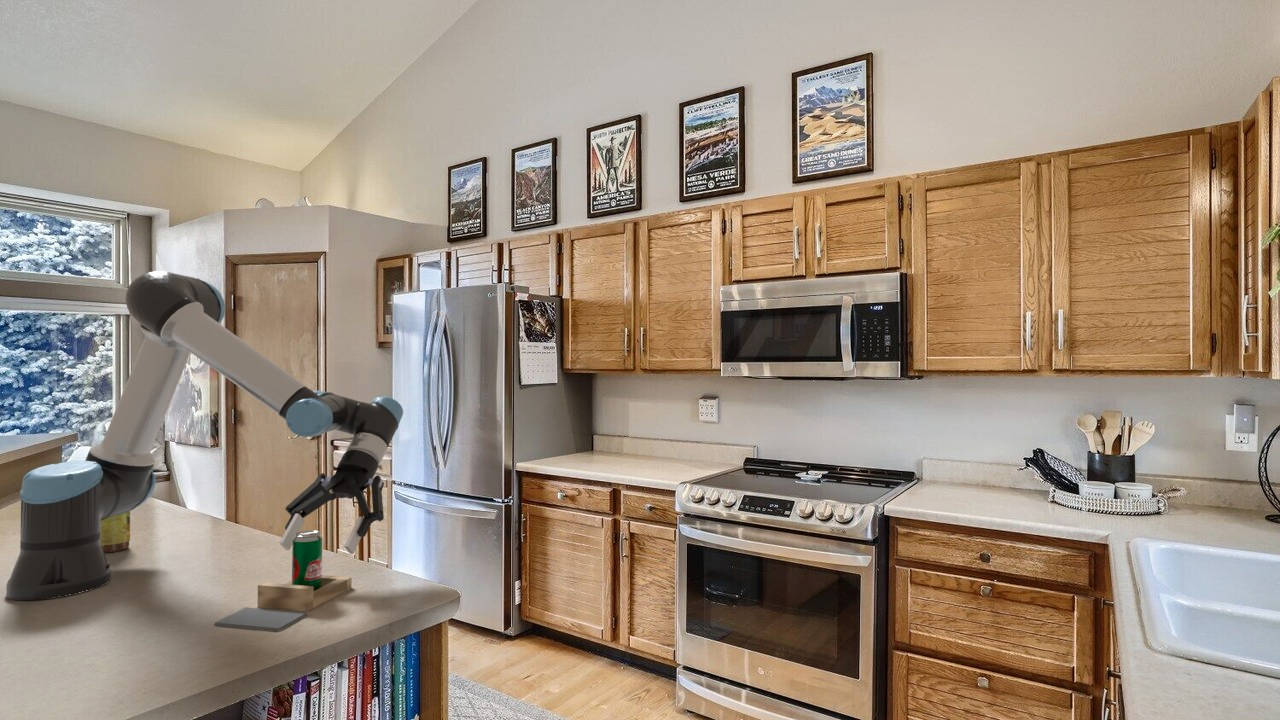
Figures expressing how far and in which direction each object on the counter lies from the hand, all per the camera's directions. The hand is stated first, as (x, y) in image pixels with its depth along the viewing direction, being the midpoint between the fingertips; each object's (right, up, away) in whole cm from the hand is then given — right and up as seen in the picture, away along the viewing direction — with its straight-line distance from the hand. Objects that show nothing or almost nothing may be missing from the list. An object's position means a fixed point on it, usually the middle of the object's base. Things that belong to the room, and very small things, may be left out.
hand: (316, 548), depth 126 cm
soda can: (-1, -9, -2) cm, 9 cm away
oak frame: (-1, -8, -2) cm, 9 cm away
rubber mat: (-3, -8, -14) cm, 16 cm away
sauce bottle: (-60, -8, +26) cm, 66 cm away
